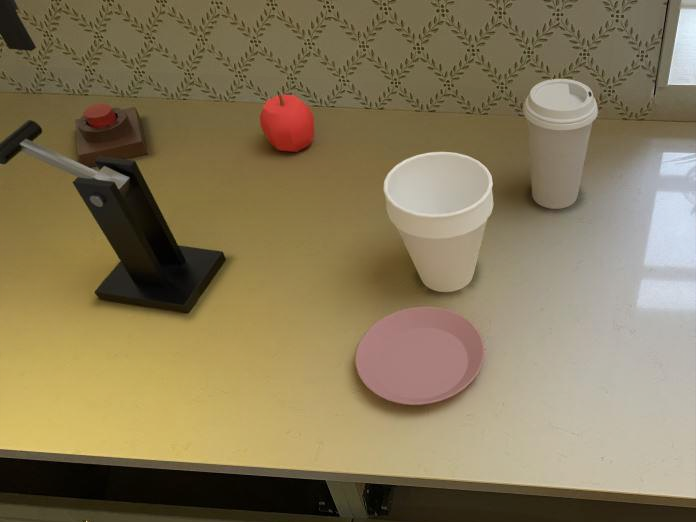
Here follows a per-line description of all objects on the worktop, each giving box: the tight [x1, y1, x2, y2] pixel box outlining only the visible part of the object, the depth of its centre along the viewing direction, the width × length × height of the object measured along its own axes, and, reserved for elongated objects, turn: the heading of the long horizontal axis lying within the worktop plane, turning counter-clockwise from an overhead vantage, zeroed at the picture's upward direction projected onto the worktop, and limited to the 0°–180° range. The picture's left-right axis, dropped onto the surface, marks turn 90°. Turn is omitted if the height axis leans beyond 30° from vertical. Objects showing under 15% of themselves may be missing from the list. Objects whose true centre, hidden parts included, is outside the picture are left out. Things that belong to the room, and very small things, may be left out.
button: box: [83, 103, 117, 127], centre depth 98 cm, size 4×4×2 cm
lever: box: [0, 119, 130, 199], centre depth 70 cm, size 12×6×2 cm, turn 78°
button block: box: [74, 106, 149, 168], centre depth 100 cm, size 11×9×4 cm
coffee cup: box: [522, 78, 599, 210], centre depth 87 cm, size 10×10×15 cm
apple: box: [259, 94, 315, 153], centre depth 98 cm, size 8×8×8 cm
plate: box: [355, 306, 486, 406], centre depth 73 cm, size 14×14×2 cm
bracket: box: [72, 156, 227, 314], centre depth 76 cm, size 12×10×16 cm
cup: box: [383, 151, 494, 293], centre depth 78 cm, size 12×12×14 cm
